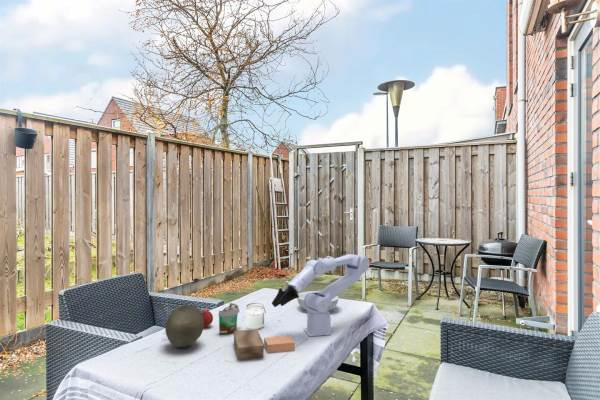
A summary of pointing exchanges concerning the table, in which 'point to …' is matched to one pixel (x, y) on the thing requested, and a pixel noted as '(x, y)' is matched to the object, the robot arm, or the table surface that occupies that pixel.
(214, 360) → the table surface
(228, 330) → the food container
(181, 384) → the table surface
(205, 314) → the onion
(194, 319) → the cantaloupe
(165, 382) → the table surface
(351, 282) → the robot arm
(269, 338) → the peach block
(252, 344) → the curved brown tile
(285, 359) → the table surface
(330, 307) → the serving bowl
